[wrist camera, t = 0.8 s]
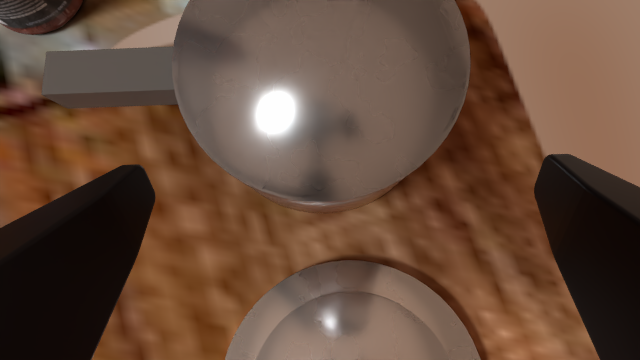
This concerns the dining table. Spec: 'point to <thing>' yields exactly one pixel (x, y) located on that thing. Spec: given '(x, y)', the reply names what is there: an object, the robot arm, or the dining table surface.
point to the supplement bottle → (37, 14)
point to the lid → (351, 318)
